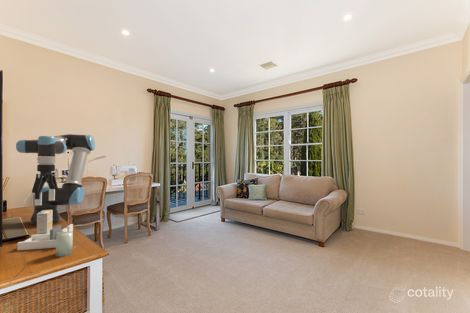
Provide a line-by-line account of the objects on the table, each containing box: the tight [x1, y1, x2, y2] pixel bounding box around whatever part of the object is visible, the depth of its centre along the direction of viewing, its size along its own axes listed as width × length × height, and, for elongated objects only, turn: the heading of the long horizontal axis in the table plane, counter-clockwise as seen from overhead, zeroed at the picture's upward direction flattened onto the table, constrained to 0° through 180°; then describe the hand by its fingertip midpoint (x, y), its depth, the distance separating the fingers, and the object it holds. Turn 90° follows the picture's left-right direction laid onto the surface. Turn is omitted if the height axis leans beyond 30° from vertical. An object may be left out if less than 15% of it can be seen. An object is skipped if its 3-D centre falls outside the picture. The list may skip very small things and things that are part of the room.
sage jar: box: [55, 231, 74, 258], centre depth 101 cm, size 6×6×9 cm
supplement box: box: [36, 210, 53, 234], centre depth 124 cm, size 8×5×13 cm, turn 23°
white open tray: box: [16, 223, 74, 251], centre depth 111 cm, size 11×18×8 cm, turn 105°
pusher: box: [50, 224, 62, 240], centre depth 113 cm, size 8×6×7 cm
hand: (45, 202), depth 124 cm, fingers open, 13 cm apart
